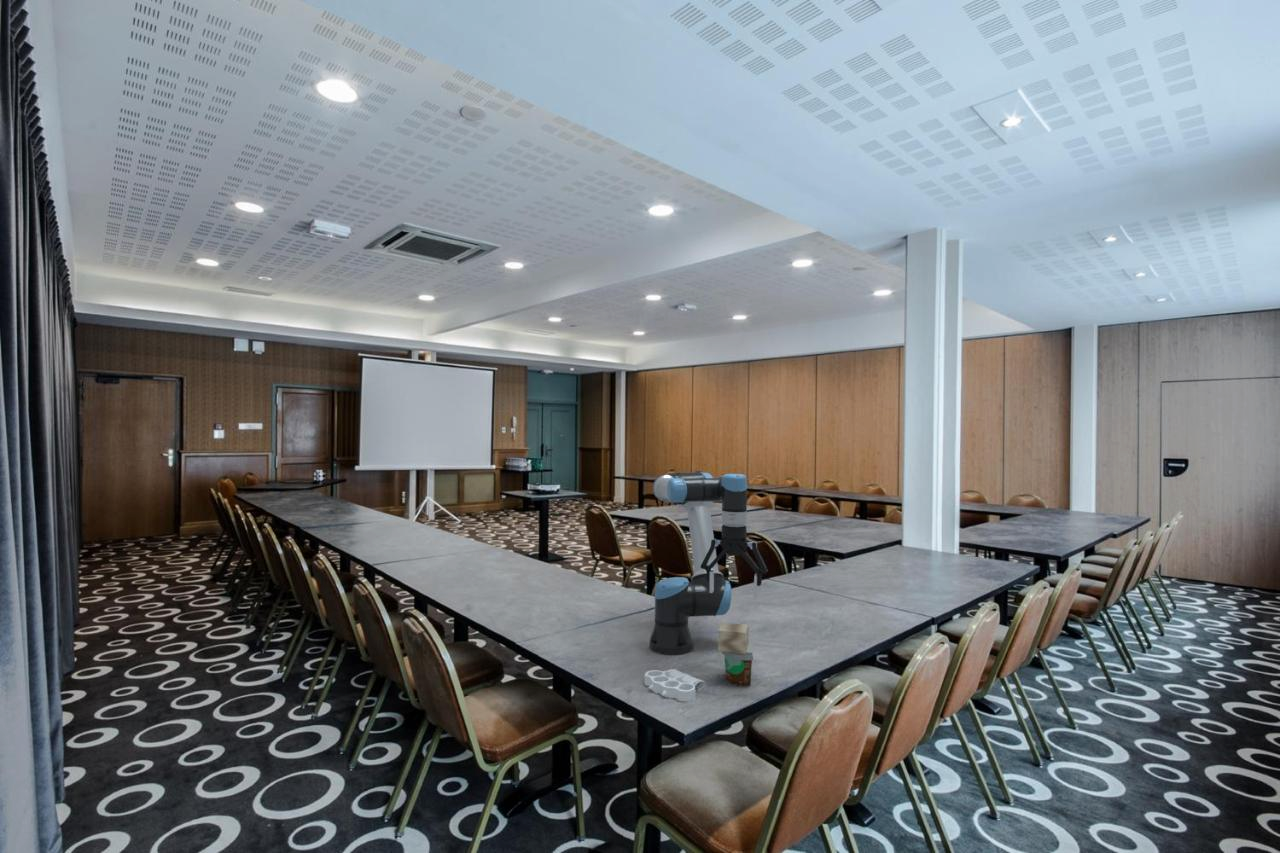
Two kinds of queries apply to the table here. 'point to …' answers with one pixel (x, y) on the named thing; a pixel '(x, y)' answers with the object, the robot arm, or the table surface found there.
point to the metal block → (733, 638)
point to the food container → (738, 668)
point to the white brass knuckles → (673, 684)
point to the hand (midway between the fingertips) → (733, 594)
